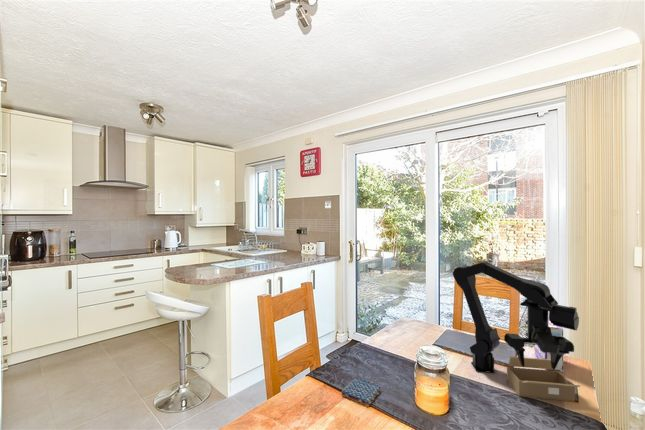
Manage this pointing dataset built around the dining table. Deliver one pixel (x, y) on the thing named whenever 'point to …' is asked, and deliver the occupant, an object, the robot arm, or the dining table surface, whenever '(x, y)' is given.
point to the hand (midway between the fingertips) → (537, 367)
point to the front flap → (551, 384)
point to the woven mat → (361, 391)
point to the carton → (539, 390)
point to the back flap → (531, 363)
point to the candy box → (541, 355)
